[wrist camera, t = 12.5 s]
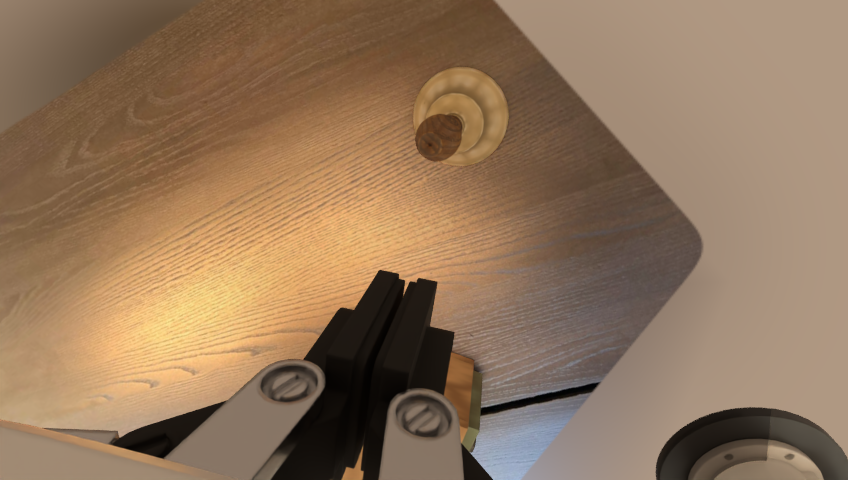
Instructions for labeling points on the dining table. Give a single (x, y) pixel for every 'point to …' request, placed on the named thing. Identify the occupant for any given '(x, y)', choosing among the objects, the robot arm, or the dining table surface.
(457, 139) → the hand bell
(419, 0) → the dining table surface
